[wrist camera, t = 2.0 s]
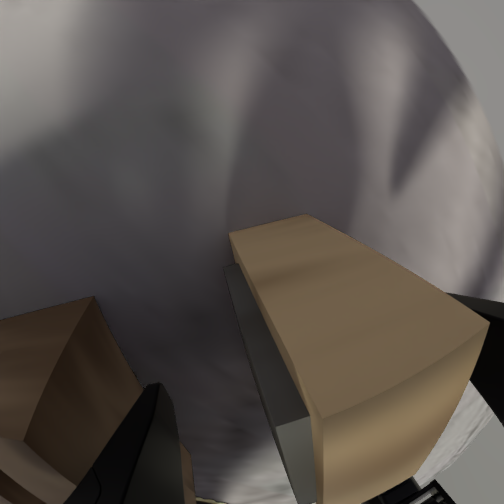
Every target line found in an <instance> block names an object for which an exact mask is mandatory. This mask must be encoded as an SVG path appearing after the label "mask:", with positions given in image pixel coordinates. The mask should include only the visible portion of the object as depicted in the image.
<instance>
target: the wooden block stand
mask: <svg viewBox="0 0 504 504" xmlns="http://www.w3.org/2000/svg"><path fill="white" fill-rule="evenodd" d="M143 390H144V389H143V388H142V386H141V385H140V383H139V381H138V380H137V378H136V377H135V375H134V373H133V372H132V370H131V368H130V366H129V365H128V363H127V361H126V359H125V358H124V356H123V354H122V352H121V350H120V349H119V347H118V345H117V343H116V341H115V339H114V337H113V335H112V333H111V331H110V329H109V327H108V325H107V323H106V321H105V319H104V317H103V315H102V313H101V311H100V309H99V307H98V304H97V302H96V300H95V298H94V296H92V297H88V298H84V299H80V300H76V301H72V302H69V303H65V304H61V305H57V306H53V307H49V308H45V309H42V310H38V311H34V312H30V313H26V314H22V315H18V316H14V317H10V318H6V319H3V320H0V504H63V503H64V502H65V501H66V500H67V498H68V497H69V496H70V495H71V493H72V492H73V491H74V490H75V489H76V487H77V486H78V485H79V483H80V482H81V480H82V479H83V478H84V476H85V475H86V473H87V472H88V470H89V469H90V467H93V466H92V465H93V463H94V462H95V460H96V459H97V457H98V456H99V454H100V453H101V451H102V450H103V448H104V447H105V445H106V444H107V443H108V441H109V440H110V438H111V437H112V435H113V434H114V432H115V431H116V429H117V428H118V426H119V425H120V424H121V422H122V421H123V419H124V418H125V416H126V415H127V413H128V412H129V411H130V409H131V408H132V406H133V405H134V403H135V402H136V400H137V399H138V398H139V396H140V395H141V393H142V392H143ZM179 442H180V441H179ZM180 449H181V462H182V476H183V488H184V498H185V504H196V496H195V489H194V480H193V471H192V461H191V455H190V453H189V452H188V451H187V450H186V448H185V447H184V446H183V445H182V443H181V442H180Z"/></svg>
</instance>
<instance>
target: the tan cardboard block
mask: <svg viewBox="0 0 504 504" xmlns="http://www.w3.org/2000/svg"><path fill="white" fill-rule="evenodd" d="M228 234H229V238H230V242H231V247H232V251H233V255H234V259H235V263H236V264H234V265H230V266H226V267H223V269H224V273H225V277H226V280H227V284H228V288H229V292H230V295H231V299H232V303H233V307H234V310H235V314H236V317H237V321H238V325H239V328H240V332H241V335H242V339H243V342H244V346H245V349H246V353H247V356H248V360H249V363H250V367H251V370H252V373H253V377H254V380H255V383H256V386H257V389H258V392H259V395H260V398H261V401H262V404H263V407H264V410H265V413H266V416H267V419H268V422H269V425H270V428H271V431H272V434H273V437H274V440H275V443H276V445H277V448H278V451H279V454H280V457H281V460H282V462H283V465H284V468H285V471H286V473H287V476H288V479H289V482H290V484H291V487H292V490H293V492H294V495H295V498H296V500H297V503H298V504H312V503H315V502H316V504H361V503H363V502H365V501H367V500H369V499H371V498H373V497H375V496H377V495H379V494H381V493H383V492H385V491H387V490H389V489H391V488H393V487H394V486H396V485H398V484H400V483H401V482H403V481H405V480H406V479H408V478H410V477H411V476H413V475H415V474H416V472H417V471H418V470H419V468H420V467H421V465H422V464H423V462H424V461H425V460H426V458H427V457H428V455H429V454H430V452H431V450H432V449H433V447H434V446H435V444H436V443H437V441H438V439H439V438H440V436H441V434H442V433H443V431H444V429H445V427H446V426H447V424H448V422H449V420H450V418H451V417H452V415H453V413H454V411H455V409H456V407H457V405H458V403H459V401H460V399H461V397H462V395H463V393H464V390H465V388H466V386H467V384H468V382H469V379H470V377H471V375H472V372H473V370H474V367H475V365H476V362H477V360H478V357H479V354H480V351H481V349H482V346H483V343H484V340H485V337H486V334H487V331H488V328H489V324H490V322H489V321H487V320H486V319H484V318H483V317H481V316H480V315H478V314H477V313H475V312H474V311H472V310H471V309H469V308H468V307H466V306H465V305H463V304H462V303H460V302H459V301H457V300H456V299H454V298H453V297H451V296H450V295H448V294H446V293H445V292H443V291H442V290H440V289H439V288H437V287H435V286H434V285H432V284H431V283H429V282H427V281H426V280H424V279H422V278H421V277H419V276H418V275H416V274H414V273H413V272H411V271H409V270H408V269H406V268H404V267H402V266H401V265H399V264H397V263H396V262H394V261H392V260H391V259H389V258H387V257H385V256H384V255H382V254H380V253H378V252H377V251H375V250H373V249H371V248H369V247H368V246H366V245H364V244H362V243H361V242H359V241H357V240H355V239H353V238H351V237H350V236H348V235H346V234H344V233H342V232H340V231H338V230H337V229H335V228H333V227H331V226H329V225H327V224H325V223H323V222H321V221H319V220H318V219H316V218H314V217H312V216H310V215H308V214H304V215H300V216H295V217H291V218H287V219H283V220H279V221H275V222H271V223H267V224H263V225H259V226H255V227H251V228H247V229H243V230H239V231H235V232H231V233H228Z"/></svg>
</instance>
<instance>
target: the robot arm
mask: <svg viewBox="0 0 504 504" xmlns="http://www.w3.org/2000/svg"><path fill="white" fill-rule="evenodd" d="M445 293H446V292H445ZM446 294H448V295H450V296H451V297H453V298H454V299H456V300H457V301H459V302H460V303H462V304H463V305H465V306H466V307H468V308H469V309H471V310H472V311H474V312H475V313H477V314H478V315H480V316H481V317H483V318H484V319H486V320H487V321H489V322H490V324H489V328H488V331H487V334H486V337H485V340H484V343H483V346H482V349H481V351H480V354H479V357H478V360H477V362H476V365H475V367H474V370H473V372H472V375H471V377H470V379H469V380H470V381H471V383H472V384H473V385H474V386H475V388H476V389H477V390H478V392H479V393H480V394H481V396H482V397H483V398H484V400H485V401H486V402H487V404H488V405H489V406H490V408H491V409H492V411H493V412H494V413H495V415H496V416H497V418H498V419H499V421H500V422H501V423H502V425H503V427H504V303H502V302H497V301H491V300H485V299H480V298H474V297H468V296H463V295H457V294H451V293H446ZM92 466H93V467H90V469H89V470H88V472H87V473H86V475H85V476H84V478H83V479H82V480H81V482H80V483H79V485H78V486H77V487H76V489H75V490H74V491H73V492H72V493H71V495H70V496H69V497H68V498H67V500H66V501H65V502H64V503H63V504H185V498H184V488H183V476H182V462H181V449H180V442H179V436H178V431H177V425H176V419H175V412H174V406H173V402H172V400H171V398H170V396H169V395H168V393H167V391H166V390H165V388H164V386H163V385H162V384H161V383H159V382H158V383H152V384H148V385H147V386H146V387H145V389H144V390H143V392H142V393H141V395H140V396H139V398H138V399H137V400H136V402H135V403H134V405H133V406H132V408H131V409H130V411H129V412H128V413H127V415H126V416H125V418H124V419H123V421H122V422H121V424H120V425H119V426H118V428H117V429H116V431H115V432H114V434H113V435H112V437H111V438H110V440H109V441H108V443H107V444H106V445H105V447H104V448H103V450H102V451H101V453H100V454H99V456H98V457H97V459H96V460H95V462H94V463H93V465H92ZM430 493H431V495H432V496H431V497H430V498H428V499H427V500H425V501H424V502H422V503H421V504H456V503H455V502H454V501H453V500H452V499H451V497H450V496H449V495H448V494H447V493H446V492H445V491H444V489H443V488H442V487H441V486H440V484H439V483H438V482H437V481H436V480H435V479H434V480H433V481H432V482H430V484H429V485H427V486H426V487H424V488H423V489H421V488H420V486H419V485H418V483H417V482H416V480H415V479H414V477H413V476H411V477H410V478H408V479H406V480H405V481H403V482H401V483H400V484H398V485H396V486H394V487H393V488H391V489H389V490H387V491H385V492H383V493H381V494H379V495H377V496H375V497H373V498H371V499H369V500H367V501H365V502H363V503H361V504H415V503H416V502H417V501H419V500H421V499H422V498H423V497H425V496H427V495H428V494H430Z"/></svg>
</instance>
